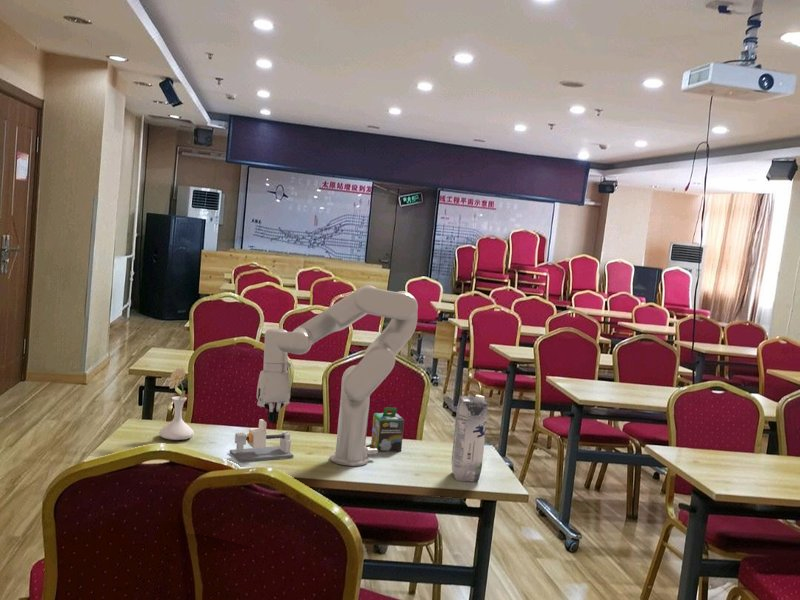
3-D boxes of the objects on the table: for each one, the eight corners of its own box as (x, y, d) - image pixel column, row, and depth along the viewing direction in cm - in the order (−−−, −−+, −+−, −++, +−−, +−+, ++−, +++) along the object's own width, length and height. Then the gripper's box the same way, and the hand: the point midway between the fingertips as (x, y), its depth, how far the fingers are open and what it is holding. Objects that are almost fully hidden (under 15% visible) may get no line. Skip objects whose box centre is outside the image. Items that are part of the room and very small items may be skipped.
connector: (241, 452, 236) (243, 432, 236) (244, 455, 234) (246, 435, 233) (233, 453, 235) (235, 433, 234) (237, 455, 232) (238, 435, 232)
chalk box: (394, 443, 267) (398, 403, 266) (402, 451, 258) (406, 410, 257) (369, 443, 264) (373, 403, 263) (376, 451, 255) (381, 409, 254)
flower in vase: (158, 433, 251) (163, 361, 249) (192, 433, 255) (197, 362, 253) (159, 444, 239) (164, 369, 237) (195, 444, 243) (201, 370, 241)
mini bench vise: (281, 448, 247) (283, 428, 247) (293, 457, 239) (295, 436, 238) (229, 452, 238) (231, 431, 237) (240, 462, 229) (241, 440, 229)
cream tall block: (259, 442, 240) (261, 418, 239) (265, 447, 236) (267, 422, 235) (248, 443, 238) (249, 419, 237) (253, 447, 234) (255, 423, 233)
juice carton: (453, 481, 231) (462, 397, 228) (449, 471, 241) (457, 390, 239) (481, 483, 231) (490, 399, 229) (475, 472, 242) (484, 392, 240)
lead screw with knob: (285, 438, 244) (286, 430, 244) (289, 441, 241) (290, 432, 241) (239, 442, 235) (240, 432, 235) (242, 444, 233) (243, 435, 233)
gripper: (292, 364, 244) (289, 418, 246) (248, 366, 236) (246, 422, 238) (301, 368, 238) (298, 423, 239) (257, 370, 230) (254, 427, 231)
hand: (272, 422), depth 239 cm, fingers closed
